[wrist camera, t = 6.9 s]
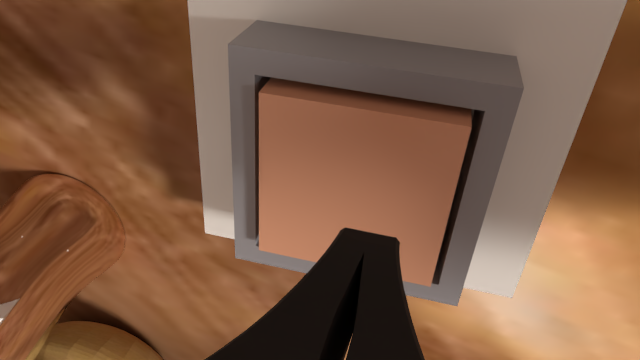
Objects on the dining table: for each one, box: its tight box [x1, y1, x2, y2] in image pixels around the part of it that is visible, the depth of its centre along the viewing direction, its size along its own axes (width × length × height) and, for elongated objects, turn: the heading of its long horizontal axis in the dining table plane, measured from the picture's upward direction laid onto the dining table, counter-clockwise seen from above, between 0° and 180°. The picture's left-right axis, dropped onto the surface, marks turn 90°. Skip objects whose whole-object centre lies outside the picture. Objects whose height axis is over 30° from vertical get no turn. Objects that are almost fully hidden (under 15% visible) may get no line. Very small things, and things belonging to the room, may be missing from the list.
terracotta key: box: [259, 77, 472, 287], centre depth 17 cm, size 6×6×3 cm
